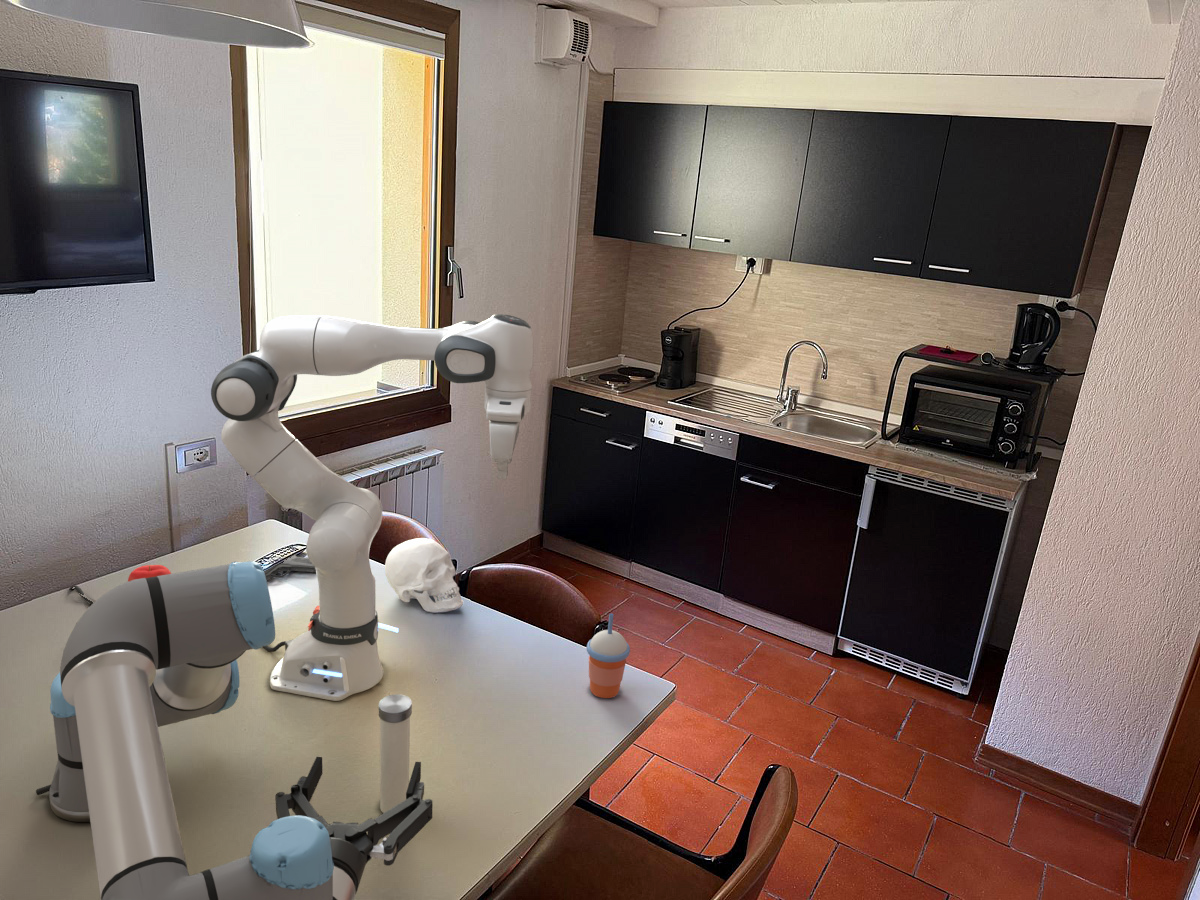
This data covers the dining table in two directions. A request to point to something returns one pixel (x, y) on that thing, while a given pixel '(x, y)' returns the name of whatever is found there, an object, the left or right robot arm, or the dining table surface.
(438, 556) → the skull
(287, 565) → the handgun
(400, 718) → the lid
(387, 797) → the white cylinder
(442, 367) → the right robot arm
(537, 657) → the dining table surface
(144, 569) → the apple
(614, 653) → the cup with straw
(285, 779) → the dining table surface
